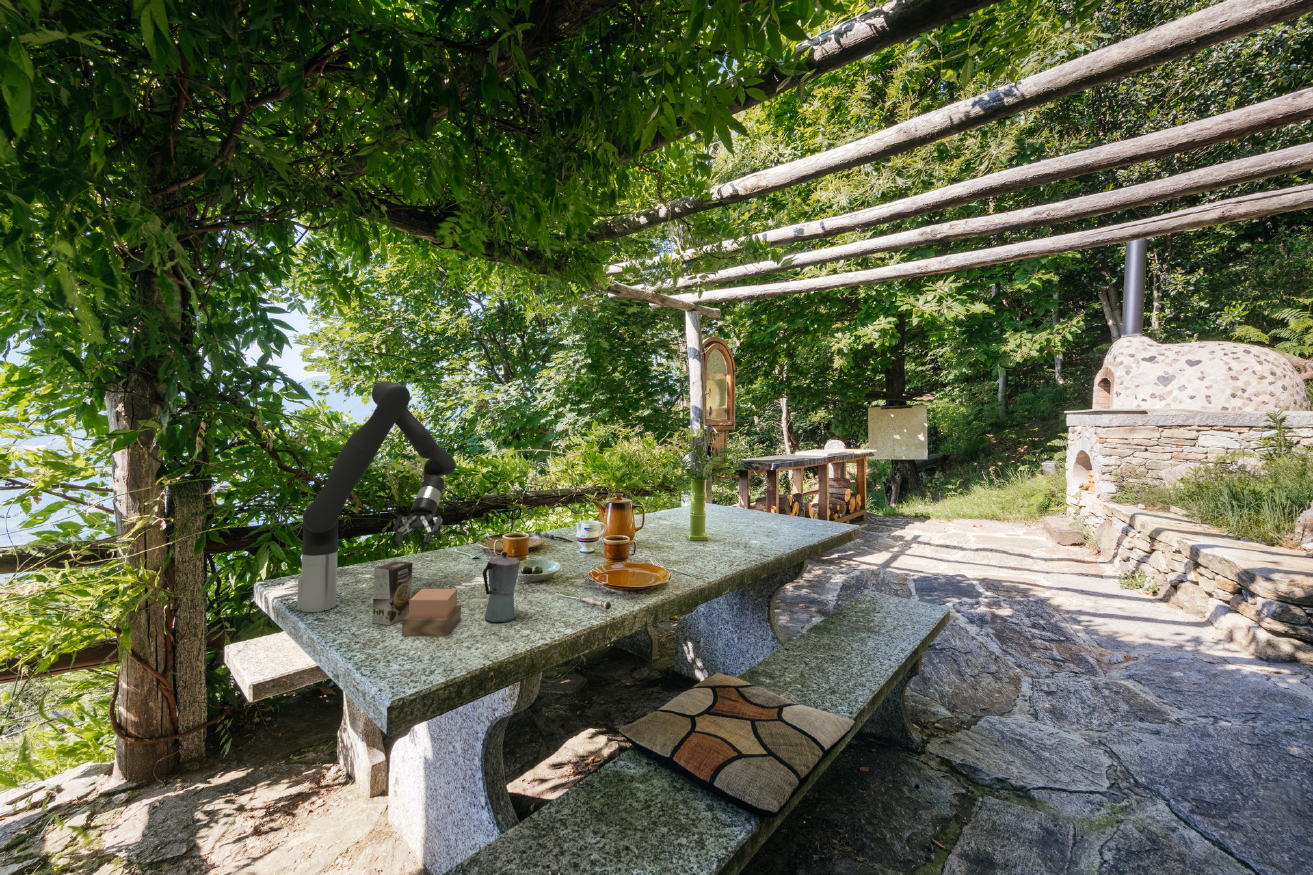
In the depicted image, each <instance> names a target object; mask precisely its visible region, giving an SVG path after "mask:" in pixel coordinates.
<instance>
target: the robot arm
mask: <svg viewBox="0 0 1313 875" xmlns="http://www.w3.org/2000/svg"><path fill="white" fill-rule="evenodd" d="M371 399H372V401H373V402H374V403H375V405H376V407H375V409H374V411H373V413H372V415H370V417H369V419H368V420H367V421H365V423H364V424H363V425H361V426H360V427H359V428H357V430H356V431H355V432H354V433H352V434H351V435H350V436H349V437H348V439H347V440H346V441H345V443H344V445H343V447H342V448H341V449H340V451H339V453H338V455H337V456H336V459H335V460H334V463H333V465H332V467H331V470H330V473H329V475H328V477H327V480H326V481H325V483H324V485H323V487H322V488H321V489H320V491H319V493H318V494H317V496H316V497H315V498H314V499H313V501H312V502H309V504H307V506H306V507H305V508H304V511H303V513H302V522H303V523H302V524H303V525H302V526H303V527H302V528H303V529H302V531H303V532H302V548H301V577H299V578H298V580H297V599H296V600H297V603H296V604H297V605H296V607H297V608H296V610H297V611H301V612H304V613H319V612H325V611H328V610H331V608H332V609H333V608H335V607H337V588H338V587H337V581H338V552H339V551H338V549H339V547H338V546H339V517H340V515H341V514H342V511H343V508H344V506H345V504H346V502H347V500H348V499H349V496H350V495H351V493H352V492H353V491H354V489H355V487H356V486H357V485H358V483H359V482H360V481H361V479H362V478H363V476H364V474H365V473H366V472H367V471H368V469H369V467H370V466H371V464H372V462H373V460H374V458H376V456H377V453H378V452H379V450H380V448H381V446H382V444H384V441H385V440H386V438H387V436H388V434H389V433H390V431H391V429H392V428H393V426H394V425H396V426H397V427H398V429H399V430H400V431H401V433H402V434H403V435H404V437H406V440H408V442H409V443H410V445H411V446H412V447H413V449H414V450H415V452H416V453H417V454H418V455H419V457H420V458H422V459H424V460H425V459H426V461H425V463H424V464H423V478H422V480H423V481H422V483H421V487H420V488H419V490H418V492H417V494H416V497H415V498H414V501H413V504H412V506H411V509H410V512H409V515H408V516H404V515H403V514H399V515H398V516H397V519H396V521H395V522H394V524H393V527H392V531H393V532H394V534H395V535H396V536H395V538H394V542H395V543H396V545H397V546H401V544H402V541H403V538H404V535H406V534H407V533H410V532H411V531H414V530H415V531H417V530H419V531H423V530H426V531H427V532H426V533H425V535H424V538H423V540H422V541H423V542H422V544H423V547H427V546H428V545H429V544H431V542H432V541H431V540H432V537H433V536H434V535H436V536H438V535H439V534H440V533H441V529H442V525H443V518H442V516H441V515H438V516H436V512H437V509H438V507H439V505H440V500H441V496H442V493H443V491H444V487H445V480H444V478H442V476H443V477H444V476H447V475H448V476H449V475H452V474H453V473H454V472H455V470H456V468H457V465H456V461H455V459H454V457H453V456H452V455H451V454H450V453H449V452H448V451H446V450H445V449H444V448H443V447H441V446H440V445H439V444H438V443H437V442H436V440H435V439H434V437H433V435H432V434H431V433H430V431H428V429H427V428H426V427H425V426H424V425H423V424H422V423H421V422H420V421H419V420H418V419H417V418H416V417H415V416H414V415H413V413H412V412H411V411H410V410H409V408H408V405H409V403H410V401H411V393H410V391H409V389H408V388H407V387H406V386H405V385H402V384H400V383H397V382H394V381H389V380H383V381H379V382H378V383H375V385H374V386H373V388H372V390H371ZM435 516H436V517H435ZM433 523H434V527H433V528H432V529H431V527H430V526H431V525H432V524H433ZM324 610H325V611H324Z"/></svg>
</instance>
